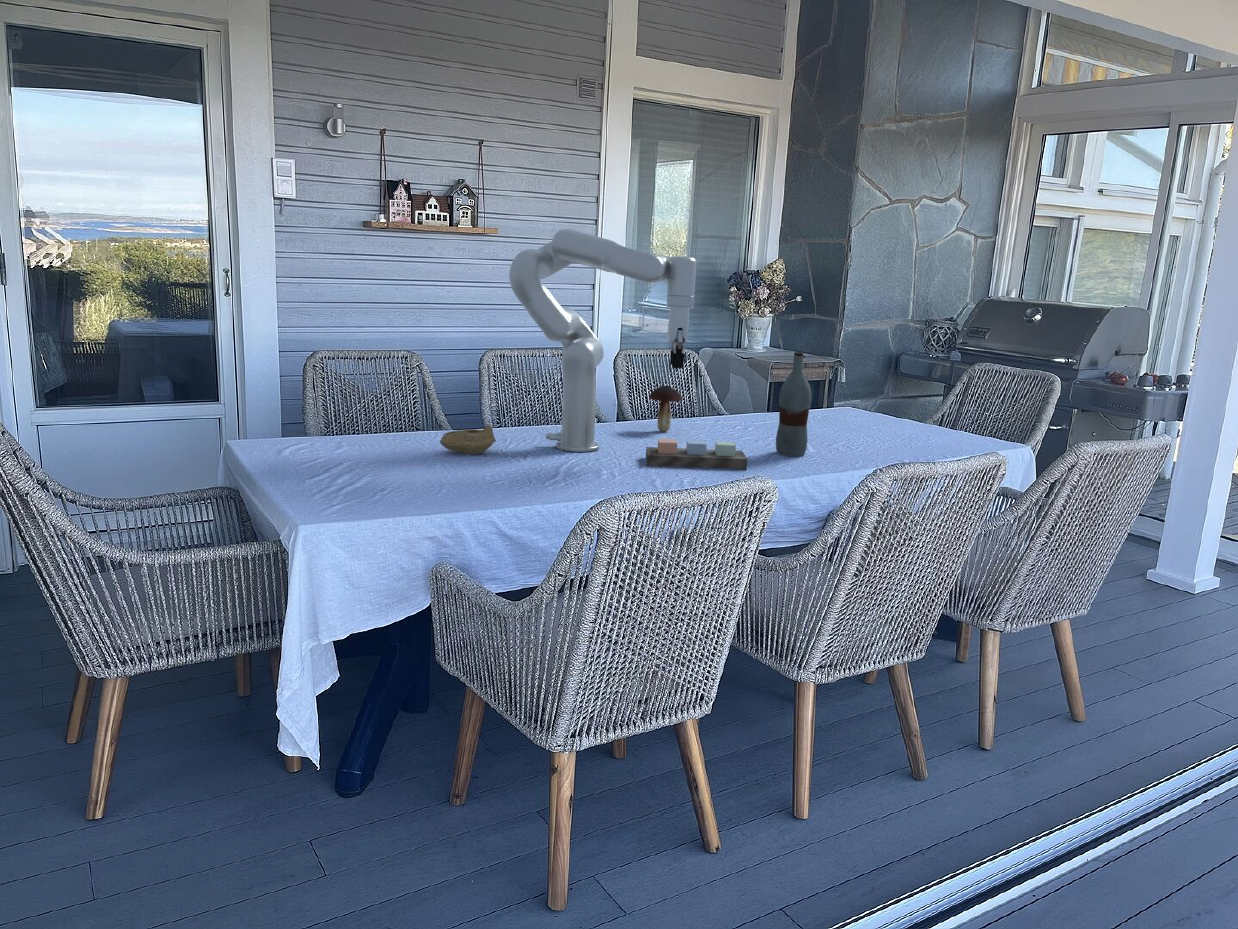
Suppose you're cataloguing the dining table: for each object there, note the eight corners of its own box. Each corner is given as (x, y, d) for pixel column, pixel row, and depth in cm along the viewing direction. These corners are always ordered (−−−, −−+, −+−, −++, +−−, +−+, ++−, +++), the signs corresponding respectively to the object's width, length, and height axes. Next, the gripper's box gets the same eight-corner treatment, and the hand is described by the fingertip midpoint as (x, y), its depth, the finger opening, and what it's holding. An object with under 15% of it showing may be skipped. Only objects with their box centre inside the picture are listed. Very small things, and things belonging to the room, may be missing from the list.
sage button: (716, 460, 264) (717, 444, 264) (714, 457, 269) (715, 441, 268) (734, 461, 265) (735, 445, 264) (732, 457, 269) (733, 441, 268)
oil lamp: (434, 451, 268) (434, 423, 266) (484, 447, 276) (484, 420, 275) (450, 459, 259) (450, 430, 257) (501, 455, 267) (501, 426, 266)
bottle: (768, 452, 286) (776, 351, 280) (785, 449, 293) (793, 350, 286) (795, 458, 280) (804, 354, 273) (812, 454, 287) (821, 353, 280)
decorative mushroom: (648, 427, 319) (651, 382, 316) (682, 429, 317) (684, 384, 314) (645, 433, 308) (647, 386, 305) (679, 435, 307) (682, 388, 304)
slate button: (687, 459, 264) (688, 443, 263) (685, 455, 269) (686, 440, 268) (705, 460, 264) (706, 444, 263) (703, 456, 269) (704, 440, 268)
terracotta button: (658, 458, 264) (659, 442, 263) (657, 454, 269) (658, 438, 268) (676, 459, 264) (677, 443, 263) (675, 455, 269) (676, 439, 268)
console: (647, 465, 261) (647, 455, 261) (645, 457, 272) (646, 446, 272) (746, 469, 262) (747, 458, 261) (741, 461, 273) (742, 450, 272)
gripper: (664, 299, 275) (661, 362, 279) (668, 303, 258) (665, 369, 262) (691, 301, 275) (687, 363, 279) (696, 304, 258) (692, 370, 262)
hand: (676, 365), depth 270 cm, fingers open, 7 cm apart
